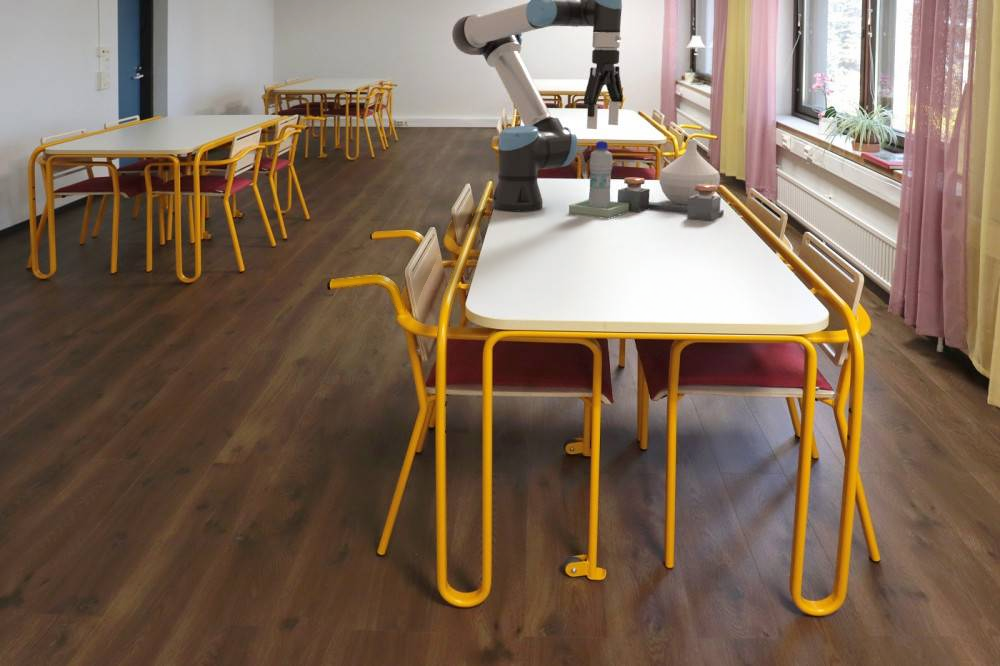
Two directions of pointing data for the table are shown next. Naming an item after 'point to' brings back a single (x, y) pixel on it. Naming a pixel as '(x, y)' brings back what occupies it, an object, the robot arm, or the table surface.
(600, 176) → the bottle
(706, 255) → the table surface
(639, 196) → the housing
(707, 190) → the plunger right
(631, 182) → the plunger left
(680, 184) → the vase
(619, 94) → the robot arm
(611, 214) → the tray
